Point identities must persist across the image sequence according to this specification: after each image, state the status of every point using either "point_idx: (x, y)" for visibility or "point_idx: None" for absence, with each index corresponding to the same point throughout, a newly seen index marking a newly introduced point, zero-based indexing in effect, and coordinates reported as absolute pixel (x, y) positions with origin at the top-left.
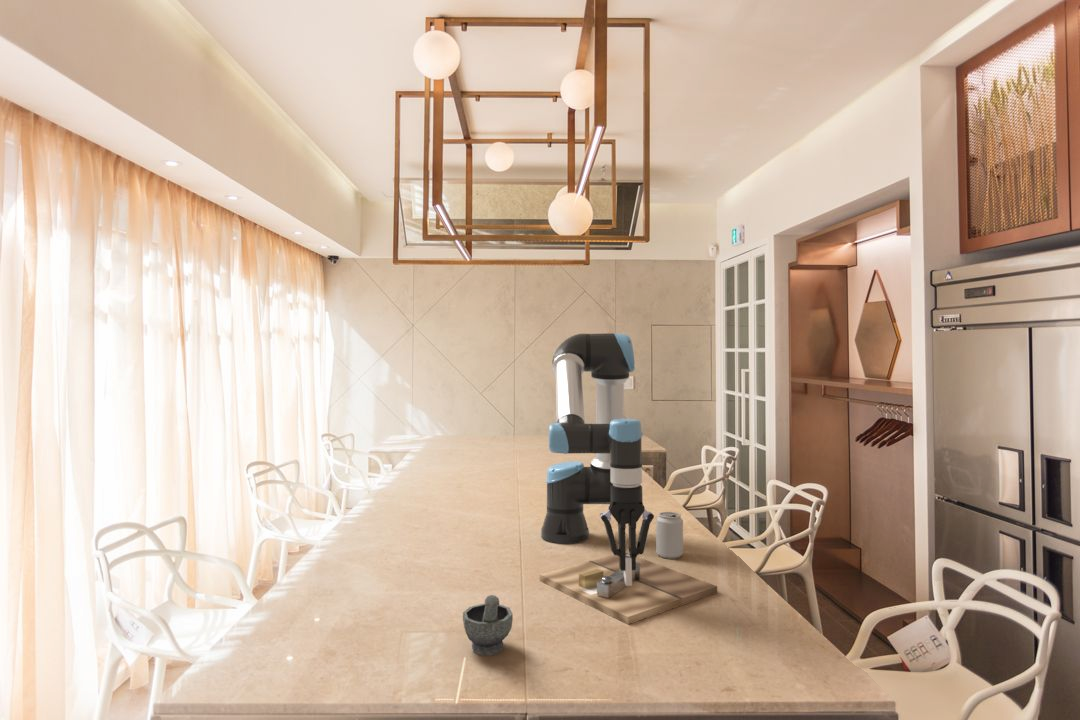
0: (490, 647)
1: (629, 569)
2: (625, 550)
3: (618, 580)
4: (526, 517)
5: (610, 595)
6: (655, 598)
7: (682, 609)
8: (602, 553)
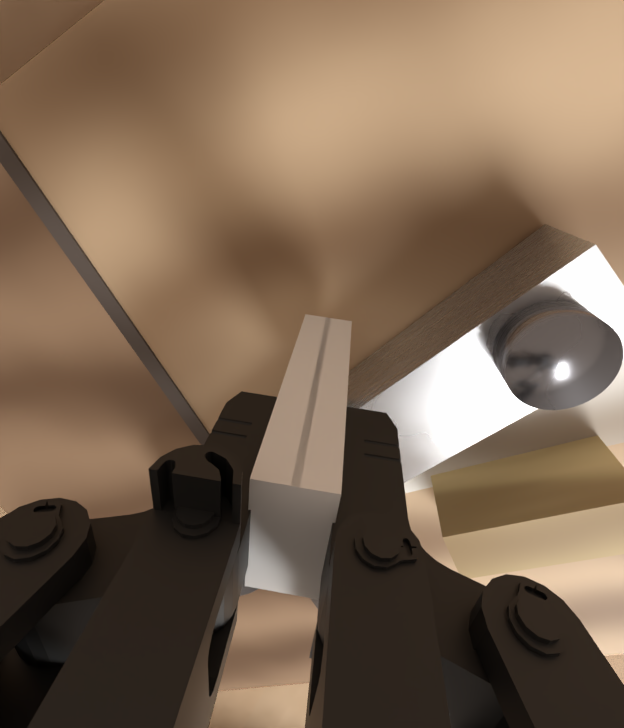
0: None
1: (306, 387)
2: (332, 628)
3: (407, 370)
4: None
5: (513, 252)
6: (168, 150)
7: (10, 31)
8: (275, 709)
